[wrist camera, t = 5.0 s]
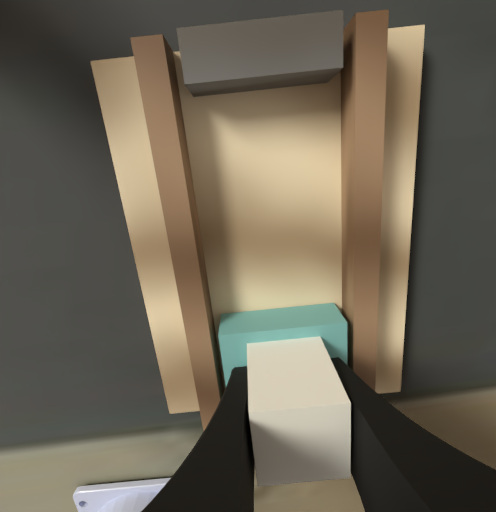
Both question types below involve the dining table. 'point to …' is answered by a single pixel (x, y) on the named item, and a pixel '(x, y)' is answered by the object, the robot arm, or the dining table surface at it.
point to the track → (268, 183)
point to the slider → (292, 390)
